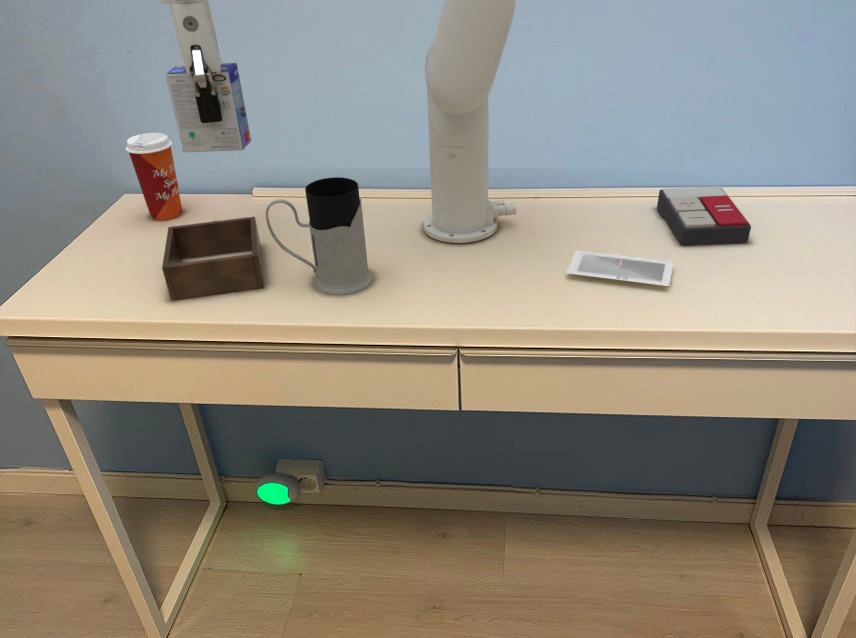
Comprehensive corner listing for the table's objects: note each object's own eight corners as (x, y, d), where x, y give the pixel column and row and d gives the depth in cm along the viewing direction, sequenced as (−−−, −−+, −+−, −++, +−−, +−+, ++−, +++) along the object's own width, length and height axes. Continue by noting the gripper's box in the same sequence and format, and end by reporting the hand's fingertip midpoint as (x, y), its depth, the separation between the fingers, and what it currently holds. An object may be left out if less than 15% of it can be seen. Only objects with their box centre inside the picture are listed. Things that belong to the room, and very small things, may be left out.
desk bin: (260, 246, 125) (255, 216, 122) (264, 288, 113) (257, 255, 110) (176, 257, 123) (168, 226, 119) (171, 300, 111) (161, 267, 108)
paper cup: (175, 223, 134) (155, 146, 126) (136, 221, 135) (114, 144, 127) (196, 206, 140) (178, 132, 132) (158, 204, 141) (139, 130, 133)
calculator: (684, 225, 118) (659, 185, 130) (680, 249, 121) (655, 207, 133) (753, 222, 119) (722, 182, 130) (747, 246, 121) (717, 205, 133)
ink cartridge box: (253, 139, 122) (235, 45, 114) (245, 151, 117) (226, 54, 109) (192, 141, 122) (170, 48, 114) (182, 153, 118) (159, 57, 109)
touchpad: (575, 256, 119) (576, 244, 118) (672, 268, 115) (674, 255, 113) (565, 279, 113) (566, 266, 111) (668, 292, 109) (670, 279, 107)
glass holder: (374, 291, 111) (364, 195, 103) (277, 301, 110) (259, 205, 101) (370, 264, 119) (360, 173, 110) (279, 273, 117) (262, 181, 108)
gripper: (212, -4, 101) (237, 129, 111) (213, -22, 114) (235, 98, 125) (153, 0, 99) (185, 134, 109) (162, -19, 113) (189, 103, 123)
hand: (211, 114), depth 117 cm, fingers closed on ink cartridge box, 6 cm apart
